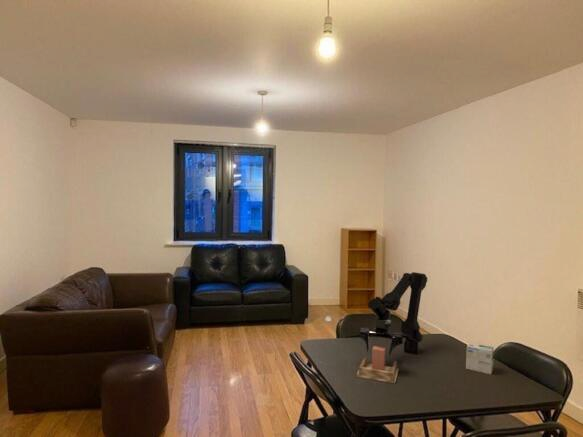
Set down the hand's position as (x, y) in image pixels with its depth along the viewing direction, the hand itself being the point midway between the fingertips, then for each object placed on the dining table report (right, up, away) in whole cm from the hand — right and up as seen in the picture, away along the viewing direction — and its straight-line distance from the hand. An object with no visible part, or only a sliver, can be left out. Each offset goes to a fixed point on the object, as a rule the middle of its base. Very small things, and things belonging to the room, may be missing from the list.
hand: (378, 353), depth 172 cm
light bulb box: (+48, -11, +9) cm, 50 cm away
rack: (0, -9, +1) cm, 9 cm away
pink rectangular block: (0, -8, +1) cm, 8 cm away
